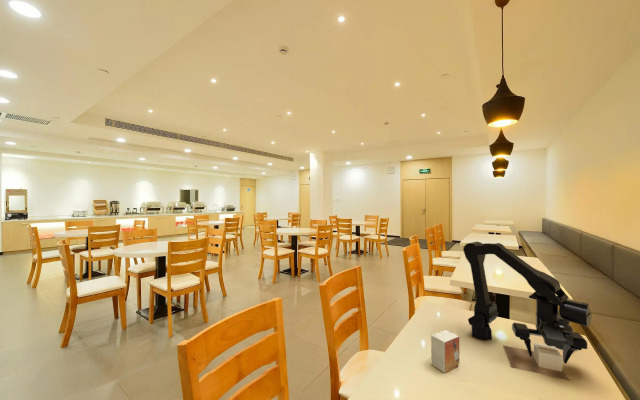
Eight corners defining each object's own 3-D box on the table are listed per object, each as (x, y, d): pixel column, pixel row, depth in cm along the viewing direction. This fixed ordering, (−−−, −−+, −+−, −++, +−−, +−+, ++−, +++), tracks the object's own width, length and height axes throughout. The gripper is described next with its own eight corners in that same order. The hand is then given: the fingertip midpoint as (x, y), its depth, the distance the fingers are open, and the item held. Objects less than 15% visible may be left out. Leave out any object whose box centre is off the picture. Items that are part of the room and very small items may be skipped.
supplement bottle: (578, 353, 96) (578, 321, 96) (556, 352, 98) (556, 320, 97) (564, 343, 103) (564, 313, 103) (544, 341, 104) (544, 312, 104)
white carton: (539, 366, 88) (538, 351, 88) (533, 356, 93) (533, 342, 93) (562, 371, 85) (562, 356, 85) (555, 361, 91) (555, 346, 91)
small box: (444, 373, 87) (444, 342, 87) (430, 364, 92) (430, 334, 92) (460, 366, 91) (459, 336, 91) (445, 357, 96) (445, 329, 96)
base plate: (511, 370, 88) (511, 367, 88) (502, 347, 101) (502, 345, 101) (569, 383, 82) (569, 380, 82) (552, 357, 94) (552, 354, 94)
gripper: (519, 319, 86) (519, 366, 86) (596, 331, 78) (596, 382, 78) (511, 306, 96) (511, 348, 96) (579, 315, 88) (579, 361, 88)
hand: (547, 359), depth 89 cm, fingers open, 9 cm apart
